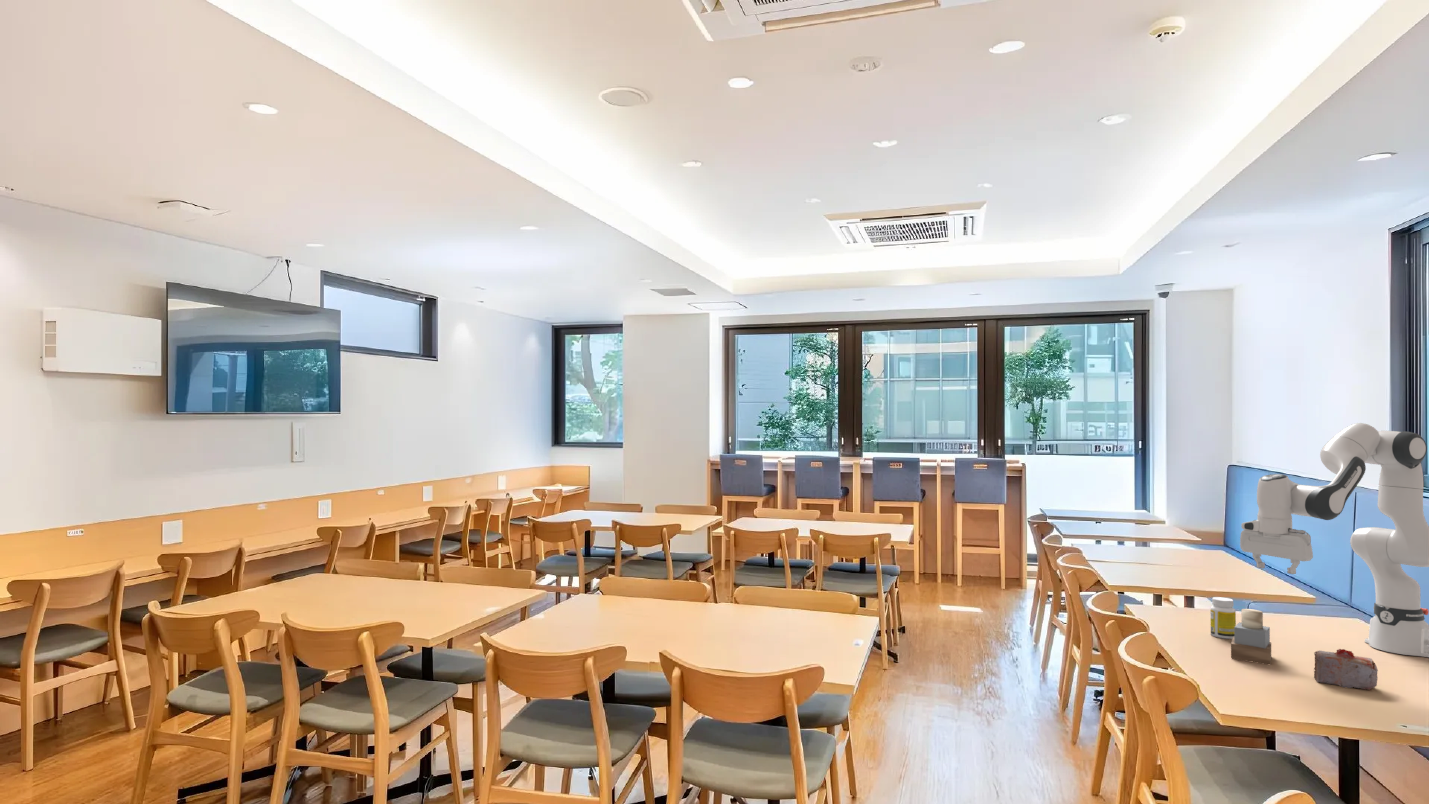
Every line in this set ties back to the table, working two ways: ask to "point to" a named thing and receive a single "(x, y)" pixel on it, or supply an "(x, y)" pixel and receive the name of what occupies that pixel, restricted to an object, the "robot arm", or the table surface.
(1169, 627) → the table surface
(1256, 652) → the walnut base block
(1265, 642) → the slate grey top block
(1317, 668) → the food item
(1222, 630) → the supplement bottle
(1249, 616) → the beige block
